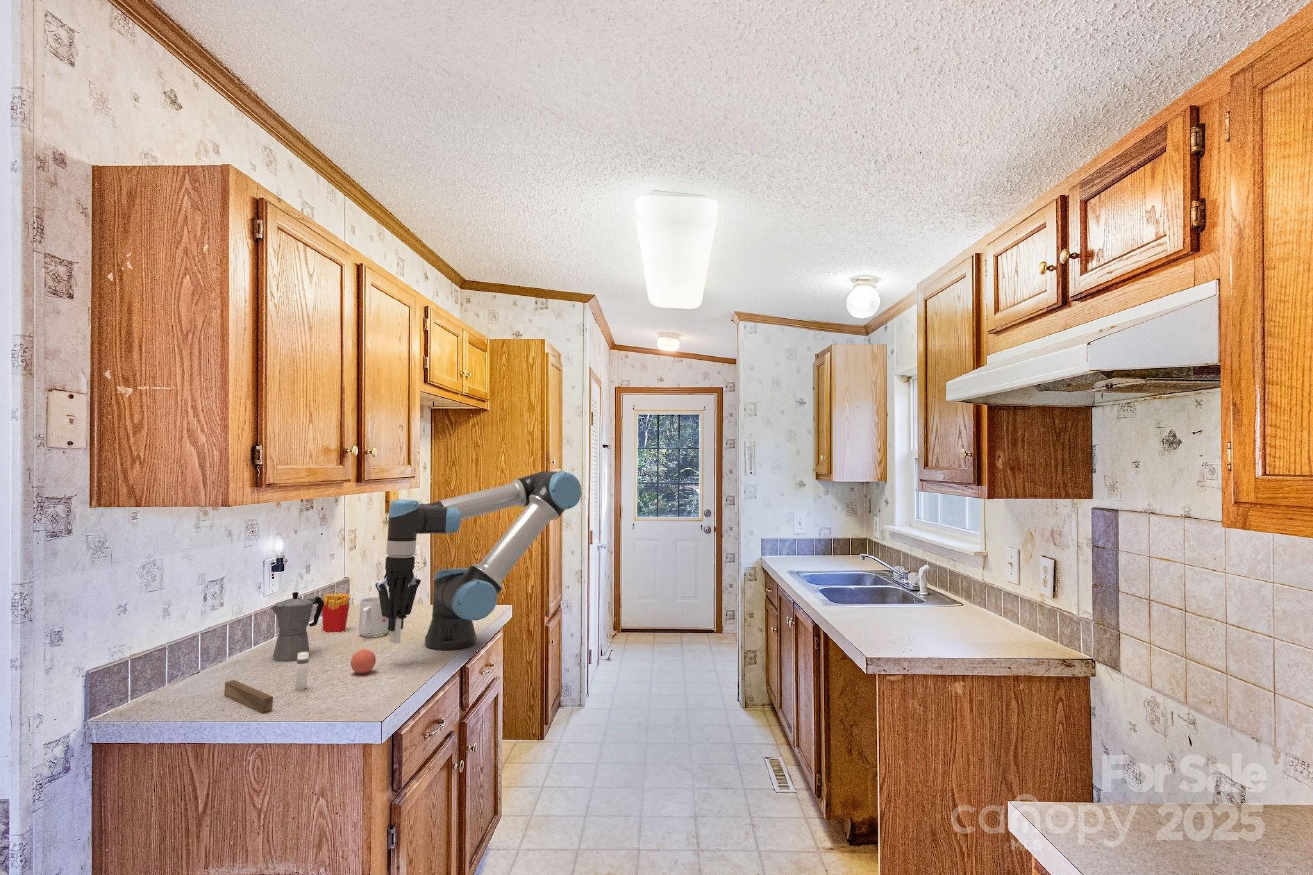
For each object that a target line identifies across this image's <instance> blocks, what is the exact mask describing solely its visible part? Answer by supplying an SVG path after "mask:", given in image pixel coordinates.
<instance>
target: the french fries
mask: <svg viewBox="0 0 1313 875" xmlns="http://www.w3.org/2000/svg"><path fill="white" fill-rule="evenodd" d="M350 600H351V595H350V594H347V593H341V592H339V593H338V594H337V593H328V594H324V595H323V601H324V606H323V608H322V611H321V615H322V632H323V631H325V632H324V633H330V632H339V633H343V632H342V631H344V632H345V631H346V627H347V621H348V616H349V608H350Z"/></svg>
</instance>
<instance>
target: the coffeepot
mask: <svg viewBox="0 0 1313 875" xmlns="http://www.w3.org/2000/svg"><path fill="white" fill-rule="evenodd" d="M299 594H300V592H298V591H295V592H294V591H293V592H292V594H291V595H292V598H290V599H286V600H282V601H278V602H276V603H275V605H273V606H270V610H272V611H273V613H274V614H275V616H276V618H277V626H278V629H279V632H278V633H279V634H277V637H276V638H277V639H276V642H275V646H274V650H273V654H272V657H273V660H274V661H276V662H294V661H297V656H298V653H300V652H309V656H311V653H310V643H309V637H308V632H307V627H308V626H309V627H315V626H317V625H318V622H319V619H320V616H321V615H322V608H323V606H324V599H322V598H321V597H320V596H316V597H310V598H309V597H308V598H306V599H305V598H298V597H299ZM316 604H317V606H316V610H315V614H314V615H313V621H312V622H311V623H309V622H310V619H311V615H312V610H313V606H314V605H316Z"/></svg>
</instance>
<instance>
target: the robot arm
mask: <svg viewBox="0 0 1313 875" xmlns="http://www.w3.org/2000/svg"><path fill="white" fill-rule="evenodd" d="M581 497H582V486H581V483H580V481H579V479H578V477H576V475H575V474H572V473H570V472H566V471H564V470H563V471H562V470H560V471H551V470H549V471H548V470H545V471H538V472H535V473H533V474H530V475H529V474H528V475H525V476H523V477H519V478H515V479H513V480H512V482H511V483H507V484H503V485H500V486H496V487H495V486H494V487H492V488H487V489H482V490H478V491H475V492H471V493H470V492H469V493H466V494H461V495H458V496H454V497H450V498H445V499H441V500H438V501H432V502H428V503H419V501H418V500H417V499H393V500H391V502H390V504H389V510H388V515H387V517H388V522H387V526H388V527H387V540H386V552H385V554H386V555H387V556H386V557H385V563H384V564H385V567H384V570H385V574H384V576H383V580H381V581H380V582H376V583H375V588H376V589H377V591H378V597H379V599H380V606H381V612H382V616H383V617H386V618H388V632H389V640H388V642H389V643H391V644H395V645H396V644H400V643H401V634H402V630H403V628H404V622H405V621H404V620H405V619H406V618H407V617H408V615H411V614H412V609H413V605H414V602H415V599H416V594H417V592H418V591H417V590H418V588H419V587H420V584H421V582H422V580H421V579H419V578H417V577H415V576H414V575H415V574H414V569H415V563H416V557H415V556H414V555H416V552H417V550H416V548H417V546H416V545H417V535H418V534H419V535H422V534H429V535H430V534H433V535H434V534H440V535H441V534H446V535H448V534H456V533H458V531H459V530H460V528H461V525H462V524H461V523H462V521H463V520H466V519H470V518H475V517H479V516H482V515H483V516H484V515H486V514H490V513H494V512H497V511H500V510H501V511H502V510H505V509H509V508H511V507H512V508H513V507H516V506H518V507H519V508H524V510H522V512H521V513H520V514H519V516H518V517H517V518H516V519H515V521H513V523H512V524H511V525H510V526H509V527H508V529H507V530H506V531H505V532H504V533H503V535H502V536H501V537H500V538H499V539H498V540H497V542H496V543H495V544H494V545H493V547H492V548H491V549H490V551H489V552H488V553H487V554H486V555H485V556H484V558H483V559H481V561H480V562H479V563H473V564H471V565H470V566H469V567H467V568H466V567H463V568H445V569H438V570H436V571H435V573H434V576H433V581H432V583H433V591H432V592H433V593H432V594H433V595H432V614H431V621H430V623H429V626H428V628H427V633H426V635H425V637H424V646H425V647H426V648H429V649H433V650H441V651H442V650H443V651H445V650H446V651H447V650H448V651H450V650H451V651H453V650H459V649H466V648H470V647H472V646H474V645H475V644H476V643H477V634H476V631H475V627H474V623H473V621H475V622H476V621H479V620H482V619H483V620H484V618H487V617H488V616H489V615H490V614H492V612H494V610H495V608H496V605H497V602H498V596H499V594H500V592H501V591H502V589H503V581H504V579H505V578H506V576H508V574H509V573H510V572H511V570H512V569H513V568H514V567H515V565H516V564H517V563H518V562H519V560H520V559H521V558H522V557H523V556H524V554H525V553H526V552H527V551H528V549H530V547H531V545H532V544H533V543H534V542H535V541H536V539H537V538H538V537H539V536H540V534H541V533H542V532H543V531H544V529H545V528H546V526H548V524H549V523H550V522H551V521H555V520H558V519H560V517H561V516H562V514H564V512H565V511H566V510H570V509H572V508H574V507H576V506H577V505H578V503H579V502H580V501H581V500H580V499H581Z"/></svg>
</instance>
